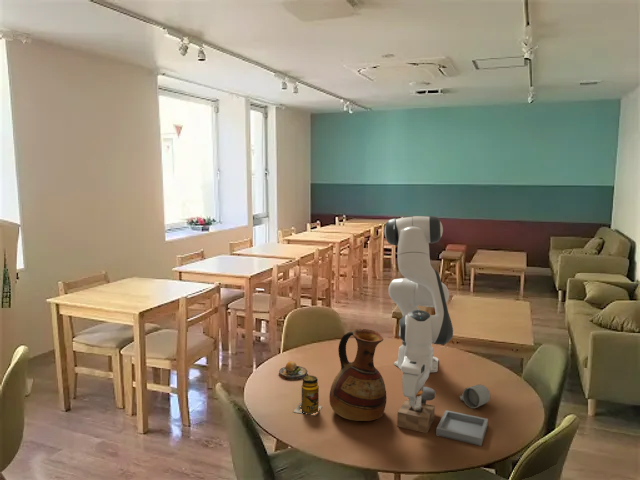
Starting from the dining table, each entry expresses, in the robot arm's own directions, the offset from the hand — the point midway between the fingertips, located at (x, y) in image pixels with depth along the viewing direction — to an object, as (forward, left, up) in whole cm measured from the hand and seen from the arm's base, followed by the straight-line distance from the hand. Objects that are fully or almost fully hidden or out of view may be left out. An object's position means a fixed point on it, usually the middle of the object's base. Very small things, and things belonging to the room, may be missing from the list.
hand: (416, 399), depth 167 cm
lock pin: (0, 0, -8) cm, 8 cm away
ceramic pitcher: (+3, -20, -9) cm, 22 cm away
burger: (-17, -57, -9) cm, 60 cm away
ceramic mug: (-24, +15, -9) cm, 29 cm away
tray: (-2, +15, -8) cm, 17 cm away
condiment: (+8, -37, -9) cm, 39 cm away
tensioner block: (-4, 0, -8) cm, 9 cm away
